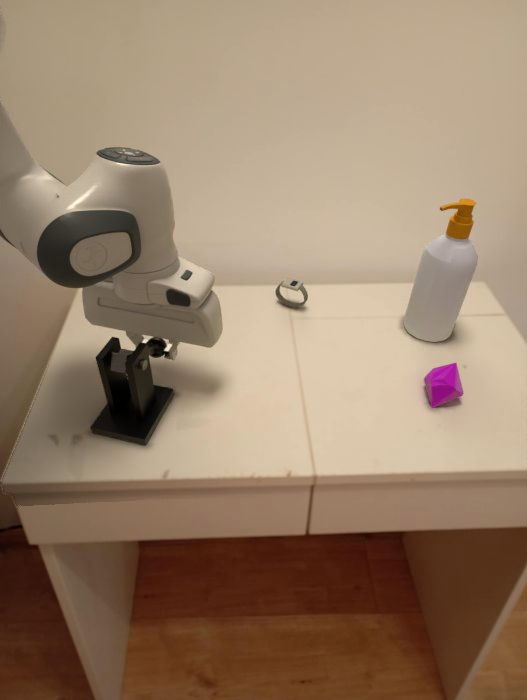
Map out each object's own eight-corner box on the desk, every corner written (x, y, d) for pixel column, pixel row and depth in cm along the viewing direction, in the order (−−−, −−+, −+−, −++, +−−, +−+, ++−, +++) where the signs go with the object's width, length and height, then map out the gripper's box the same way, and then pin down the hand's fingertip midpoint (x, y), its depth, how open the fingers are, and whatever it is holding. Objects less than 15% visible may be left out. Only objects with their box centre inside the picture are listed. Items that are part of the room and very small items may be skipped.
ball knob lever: (150, 353, 73) (152, 333, 72) (169, 357, 72) (171, 337, 72) (106, 372, 60) (108, 348, 60) (129, 377, 60) (131, 353, 59)
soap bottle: (389, 321, 87) (422, 195, 71) (429, 309, 90) (468, 186, 74) (420, 349, 81) (462, 218, 65) (461, 335, 84) (511, 208, 69)
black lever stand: (125, 383, 72) (112, 322, 64) (174, 394, 71) (166, 332, 63) (91, 432, 65) (72, 369, 57) (145, 445, 63) (132, 382, 56)
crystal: (418, 383, 74) (425, 362, 71) (451, 383, 75) (460, 361, 72) (428, 408, 70) (437, 386, 67) (463, 407, 71) (473, 385, 68)
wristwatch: (272, 304, 90) (274, 282, 86) (278, 297, 91) (280, 275, 88) (302, 313, 88) (305, 291, 84) (308, 306, 89) (310, 283, 86)
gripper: (63, 274, 62) (85, 354, 71) (209, 300, 59) (213, 380, 68) (88, 252, 67) (106, 329, 76) (225, 275, 63) (226, 353, 72)
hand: (157, 354), depth 72 cm, fingers closed on ball knob lever, 3 cm apart
